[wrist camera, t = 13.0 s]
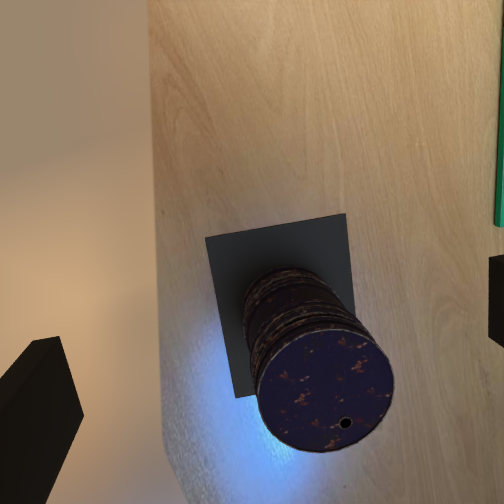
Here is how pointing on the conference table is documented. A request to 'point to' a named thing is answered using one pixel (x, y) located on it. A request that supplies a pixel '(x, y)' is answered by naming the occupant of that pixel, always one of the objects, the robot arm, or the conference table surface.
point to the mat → (269, 257)
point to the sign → (500, 157)
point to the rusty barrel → (313, 363)
